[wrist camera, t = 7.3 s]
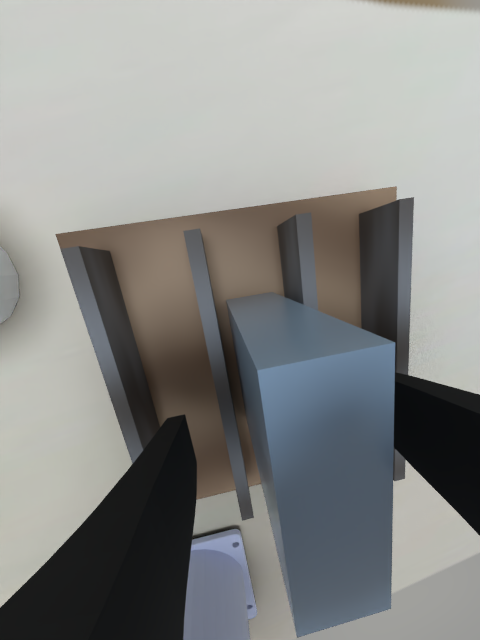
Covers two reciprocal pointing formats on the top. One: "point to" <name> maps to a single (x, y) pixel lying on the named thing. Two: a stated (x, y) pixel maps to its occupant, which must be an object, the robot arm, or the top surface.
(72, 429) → the top surface
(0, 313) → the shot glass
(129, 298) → the rack
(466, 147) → the top surface
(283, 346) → the block
